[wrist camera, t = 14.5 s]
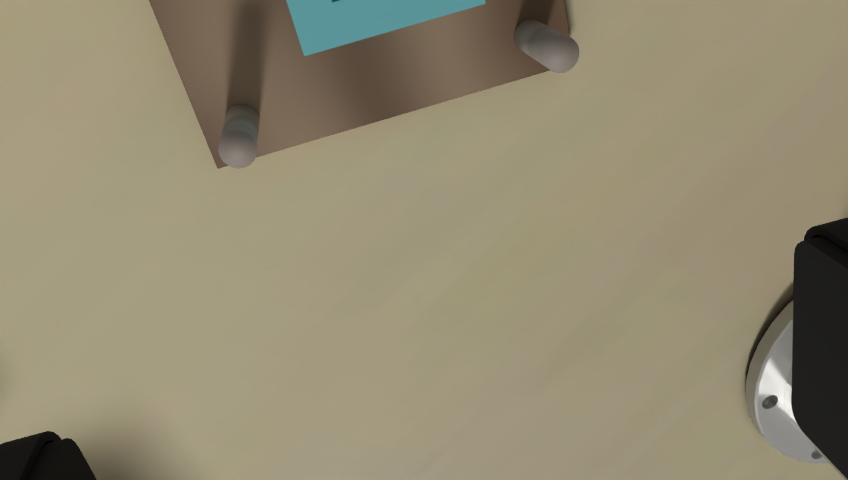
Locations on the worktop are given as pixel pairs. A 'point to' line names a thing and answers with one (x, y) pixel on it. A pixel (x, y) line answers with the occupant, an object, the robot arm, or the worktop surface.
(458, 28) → the pegboard
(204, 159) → the worktop surface
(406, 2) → the hollow square block
